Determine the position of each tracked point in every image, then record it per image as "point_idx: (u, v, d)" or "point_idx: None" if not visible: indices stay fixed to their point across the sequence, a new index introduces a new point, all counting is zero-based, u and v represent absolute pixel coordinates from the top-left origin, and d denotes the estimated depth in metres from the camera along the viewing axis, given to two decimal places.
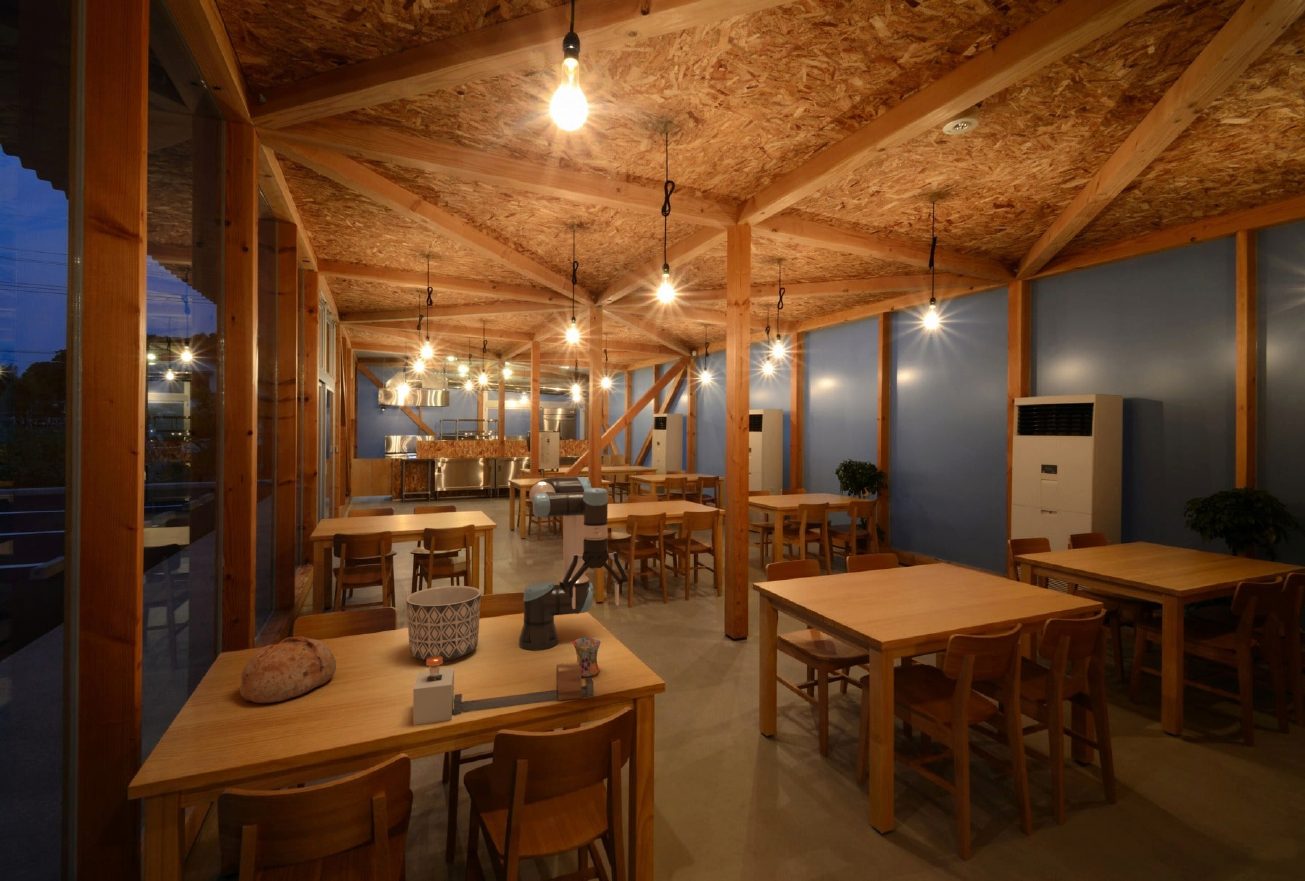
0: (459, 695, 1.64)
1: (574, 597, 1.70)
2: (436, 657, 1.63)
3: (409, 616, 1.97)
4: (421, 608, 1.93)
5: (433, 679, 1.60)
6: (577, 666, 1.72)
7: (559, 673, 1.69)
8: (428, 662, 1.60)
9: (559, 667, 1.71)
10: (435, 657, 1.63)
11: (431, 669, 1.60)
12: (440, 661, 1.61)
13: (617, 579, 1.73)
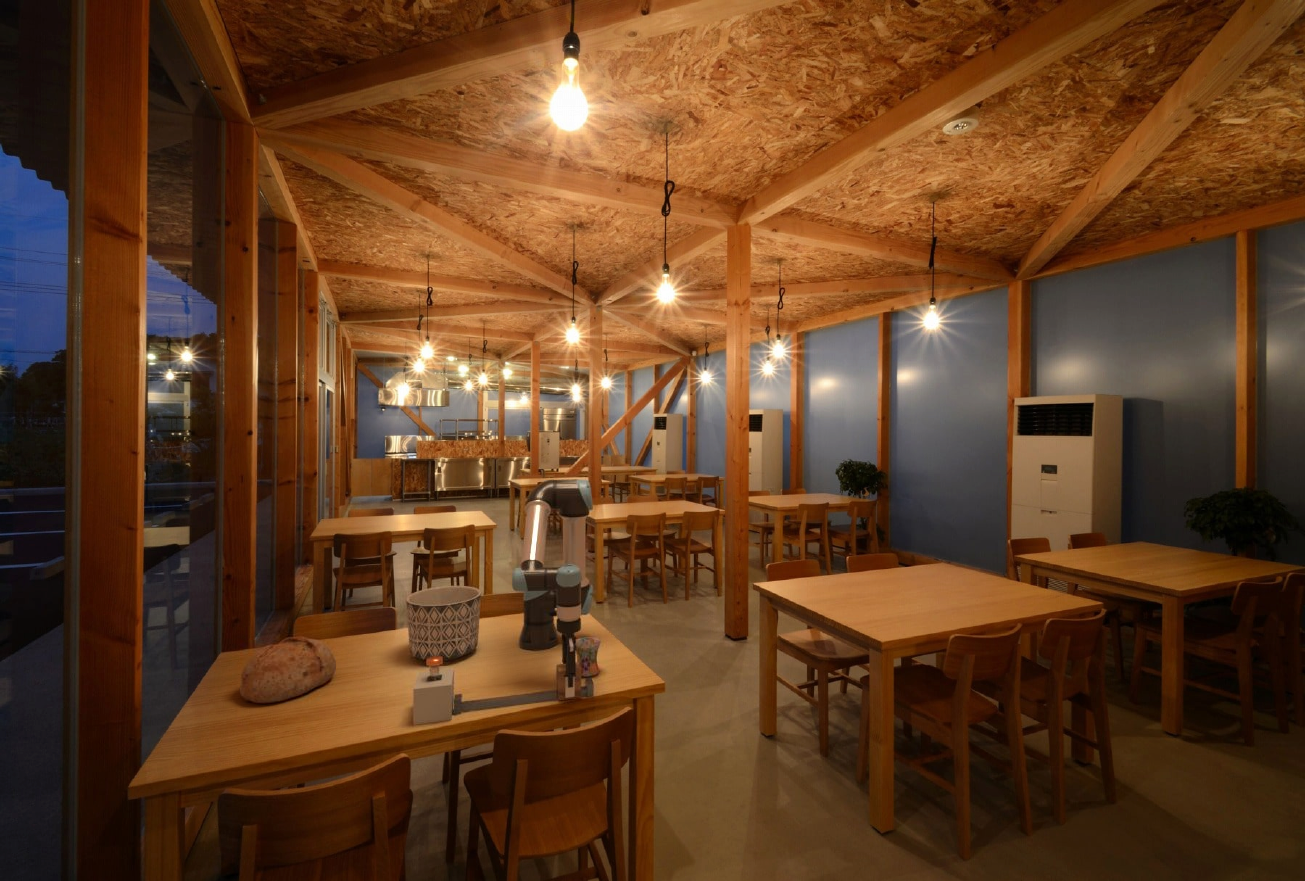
0: (459, 695, 1.64)
1: None
2: (436, 657, 1.63)
3: (409, 616, 1.97)
4: (421, 608, 1.93)
5: (433, 679, 1.60)
6: (577, 666, 1.72)
7: (559, 673, 1.69)
8: (428, 662, 1.60)
9: (559, 667, 1.71)
10: (435, 657, 1.63)
11: (431, 669, 1.60)
12: (440, 661, 1.61)
13: (566, 670, 1.68)
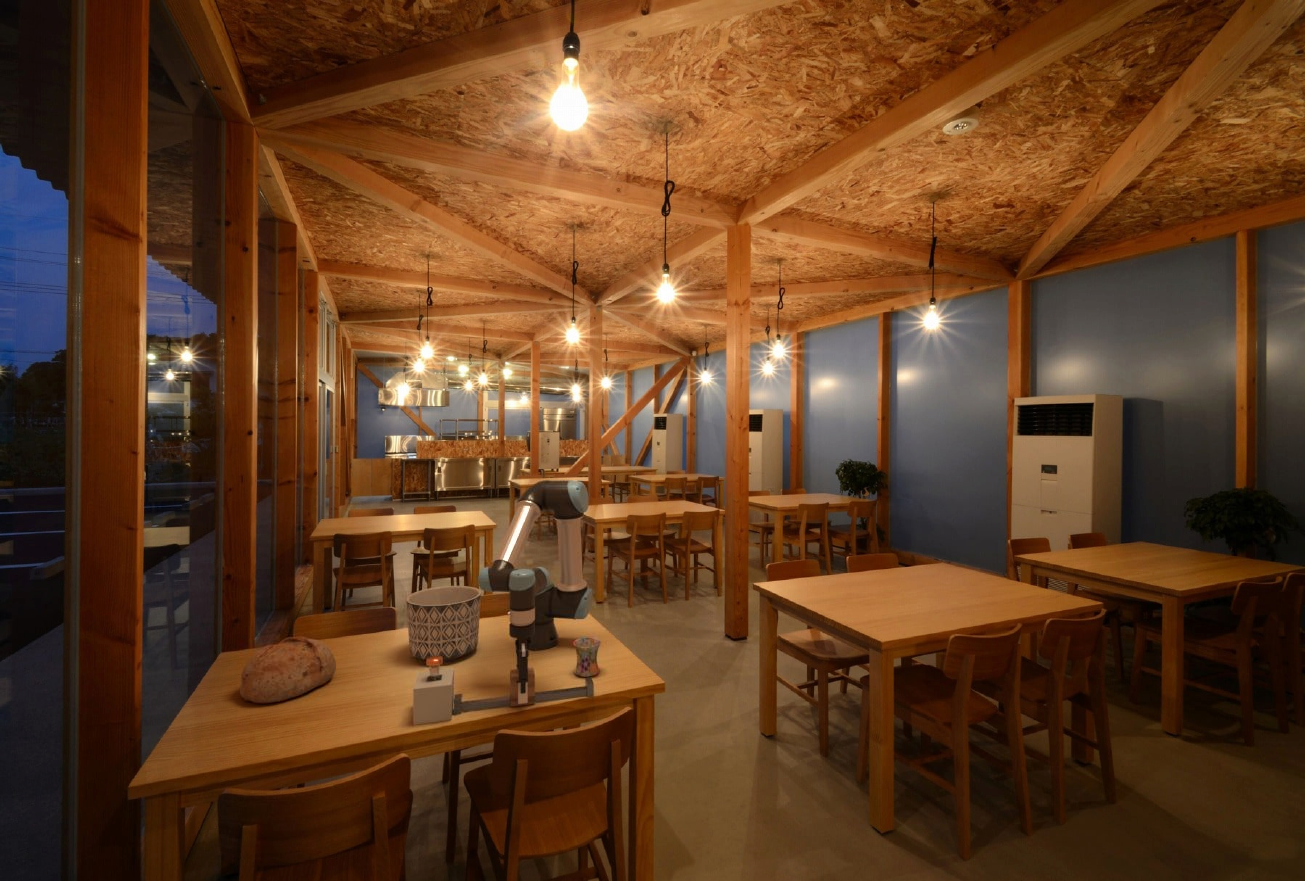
0: (459, 695, 1.64)
1: None
2: (436, 657, 1.63)
3: (409, 616, 1.97)
4: (421, 608, 1.93)
5: (433, 679, 1.60)
6: (531, 671, 1.68)
7: (511, 679, 1.65)
8: (428, 662, 1.60)
9: (512, 672, 1.67)
10: (435, 657, 1.63)
11: (431, 669, 1.60)
12: (440, 661, 1.61)
13: None
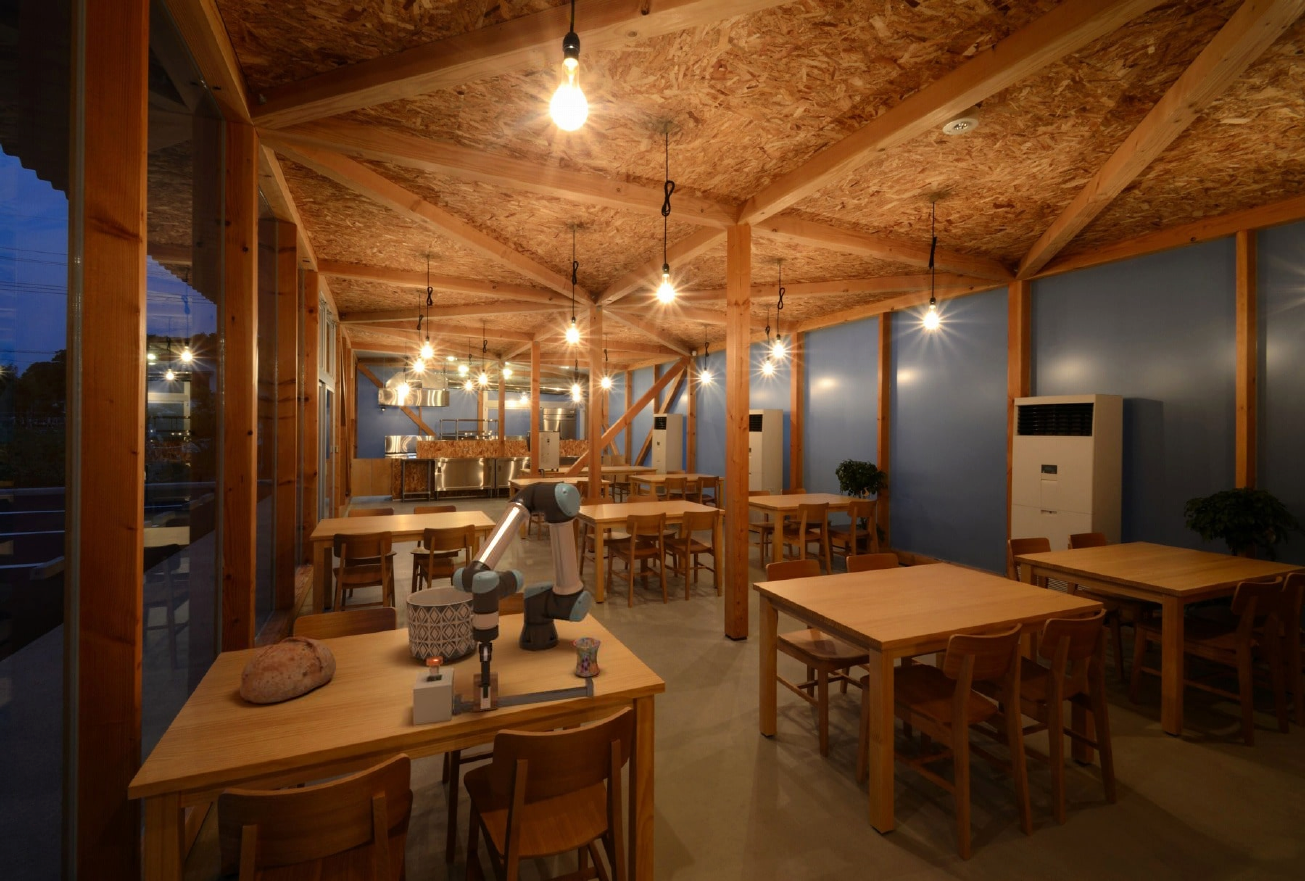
0: (459, 695, 1.64)
1: None
2: (436, 657, 1.63)
3: (409, 616, 1.97)
4: (421, 608, 1.93)
5: (433, 679, 1.60)
6: (494, 676, 1.65)
7: (474, 683, 1.61)
8: (428, 662, 1.60)
9: (475, 677, 1.64)
10: (435, 657, 1.63)
11: (431, 669, 1.60)
12: (440, 661, 1.61)
13: None
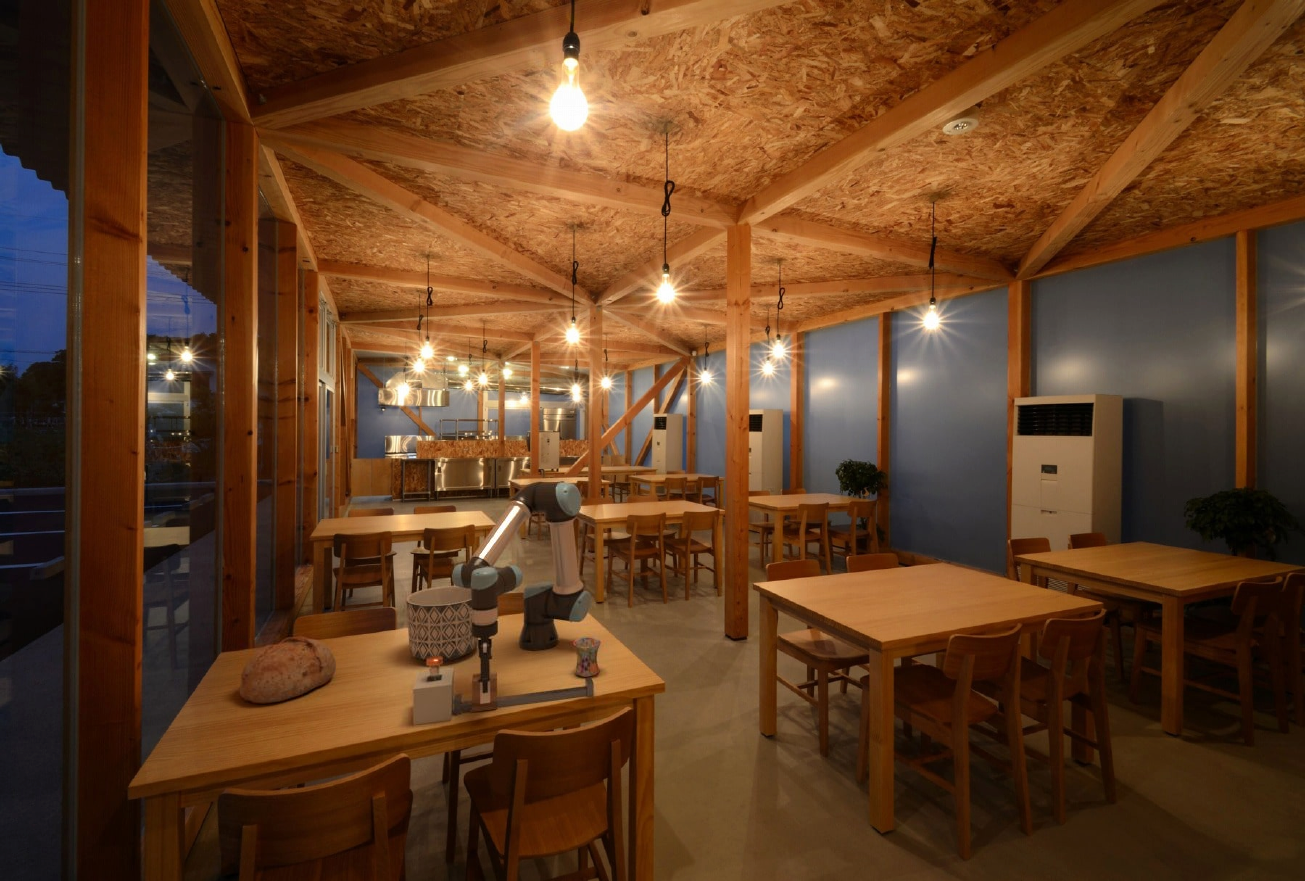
0: (459, 695, 1.64)
1: None
2: (436, 657, 1.63)
3: (409, 616, 1.97)
4: (421, 608, 1.93)
5: (433, 679, 1.60)
6: (493, 676, 1.64)
7: (473, 683, 1.61)
8: (428, 662, 1.60)
9: (474, 677, 1.64)
10: (435, 657, 1.63)
11: (431, 669, 1.60)
12: (440, 661, 1.61)
13: None
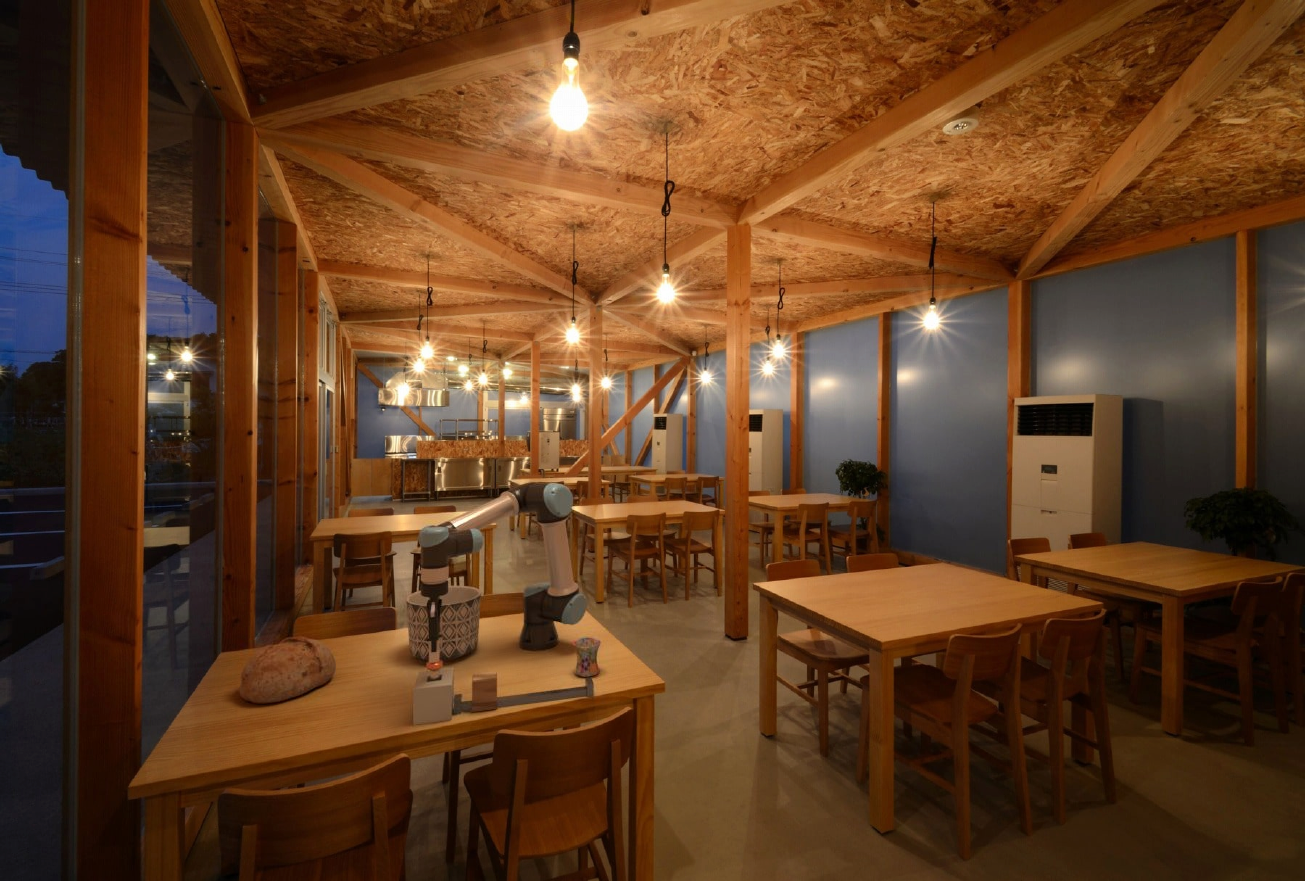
0: (459, 695, 1.64)
1: None
2: None
3: (409, 616, 1.97)
4: (421, 608, 1.93)
5: None
6: (493, 676, 1.64)
7: (473, 683, 1.61)
8: (428, 666, 1.60)
9: (474, 677, 1.64)
10: None
11: (431, 673, 1.60)
12: (440, 665, 1.61)
13: None
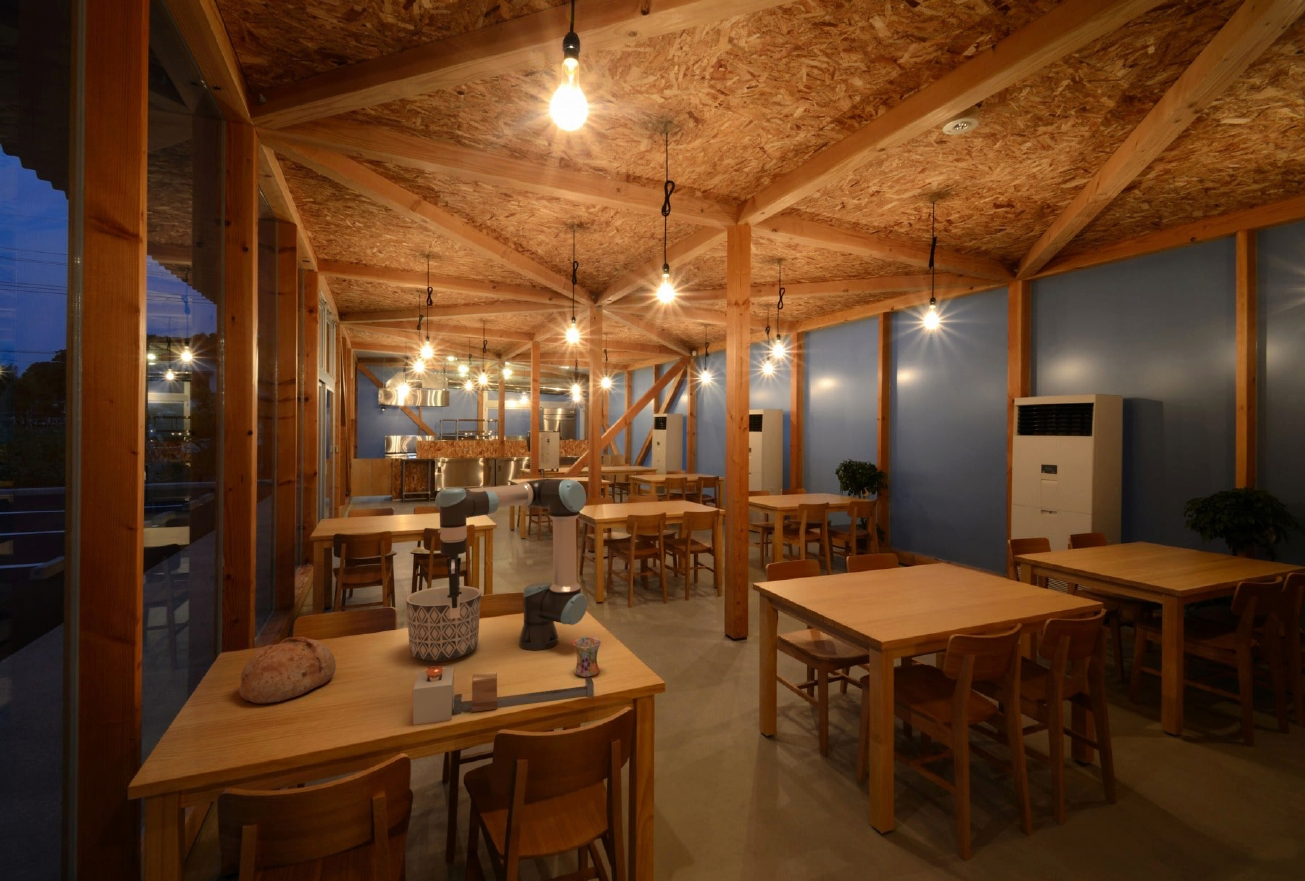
0: (459, 695, 1.64)
1: (450, 606, 1.67)
2: (436, 667, 1.63)
3: (409, 616, 1.97)
4: (421, 608, 1.93)
5: None
6: (493, 676, 1.64)
7: (473, 683, 1.61)
8: (428, 672, 1.60)
9: (474, 677, 1.64)
10: (435, 667, 1.63)
11: (431, 679, 1.60)
12: (440, 672, 1.61)
13: None
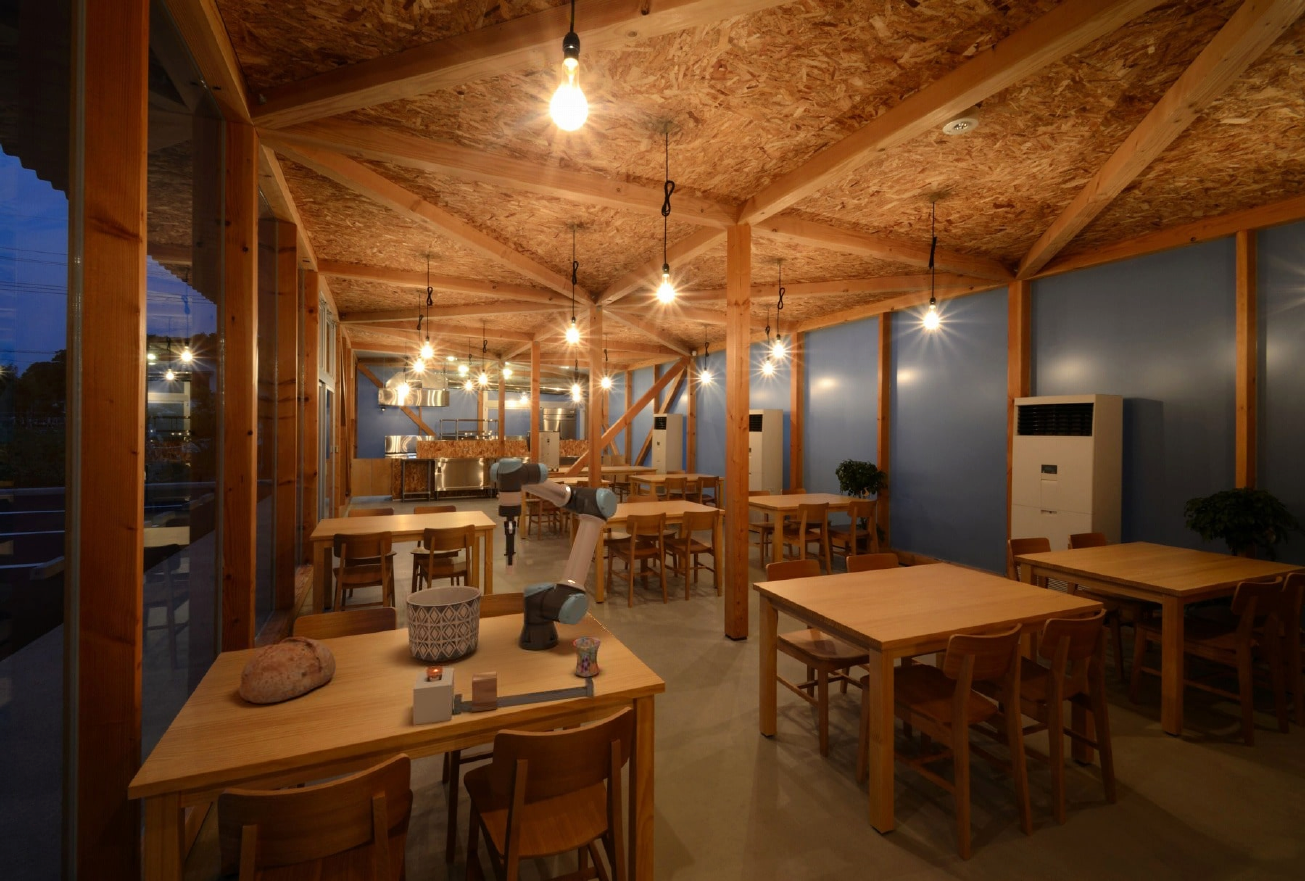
0: (459, 695, 1.64)
1: None
2: (436, 667, 1.63)
3: (409, 616, 1.97)
4: (421, 608, 1.93)
5: None
6: (493, 676, 1.64)
7: (473, 683, 1.61)
8: (428, 672, 1.60)
9: (474, 677, 1.64)
10: (435, 667, 1.63)
11: (431, 679, 1.60)
12: (440, 672, 1.61)
13: (506, 549, 1.85)
